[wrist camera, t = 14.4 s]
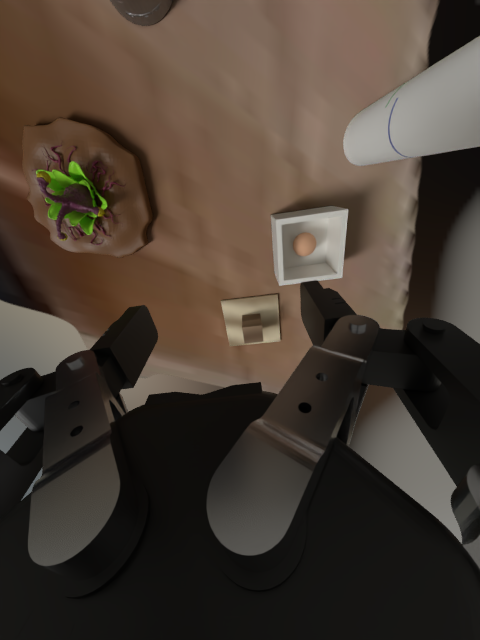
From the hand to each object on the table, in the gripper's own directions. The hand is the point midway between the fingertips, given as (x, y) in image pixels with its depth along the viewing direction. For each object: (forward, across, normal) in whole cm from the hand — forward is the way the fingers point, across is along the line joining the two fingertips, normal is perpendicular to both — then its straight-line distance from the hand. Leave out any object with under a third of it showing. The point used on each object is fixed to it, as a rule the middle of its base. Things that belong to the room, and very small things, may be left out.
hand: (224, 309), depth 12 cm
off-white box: (+33, -12, +6) cm, 36 cm away
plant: (+34, +24, -7) cm, 42 cm away
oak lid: (+34, 0, +22) cm, 40 cm away
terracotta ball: (+31, -12, +6) cm, 33 cm away
